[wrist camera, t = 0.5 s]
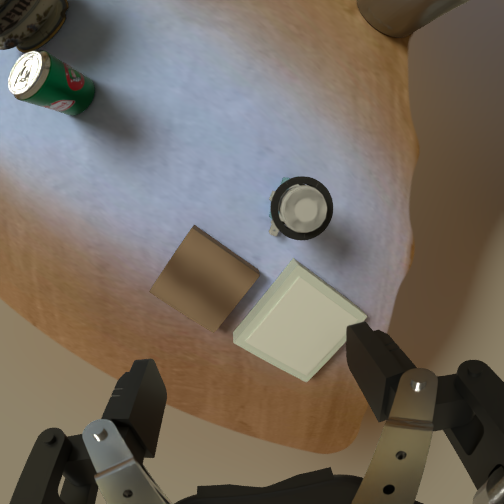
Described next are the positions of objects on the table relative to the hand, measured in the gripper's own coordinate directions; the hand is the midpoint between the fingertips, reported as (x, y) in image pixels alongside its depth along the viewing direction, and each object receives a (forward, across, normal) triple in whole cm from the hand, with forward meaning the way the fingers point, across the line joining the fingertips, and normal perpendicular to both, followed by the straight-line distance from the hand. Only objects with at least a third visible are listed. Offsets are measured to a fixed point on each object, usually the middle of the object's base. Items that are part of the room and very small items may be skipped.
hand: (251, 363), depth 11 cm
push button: (+23, -5, -3) cm, 24 cm away
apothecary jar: (+23, +23, -37) cm, 49 cm away
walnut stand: (+23, +5, +4) cm, 24 cm away
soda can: (+23, +16, -21) cm, 35 cm away
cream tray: (+23, -6, +12) cm, 27 cm away
